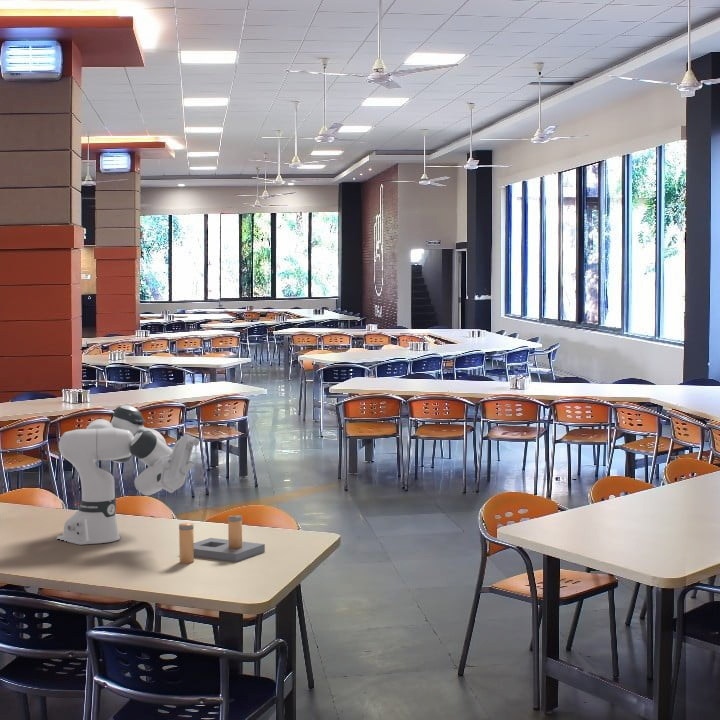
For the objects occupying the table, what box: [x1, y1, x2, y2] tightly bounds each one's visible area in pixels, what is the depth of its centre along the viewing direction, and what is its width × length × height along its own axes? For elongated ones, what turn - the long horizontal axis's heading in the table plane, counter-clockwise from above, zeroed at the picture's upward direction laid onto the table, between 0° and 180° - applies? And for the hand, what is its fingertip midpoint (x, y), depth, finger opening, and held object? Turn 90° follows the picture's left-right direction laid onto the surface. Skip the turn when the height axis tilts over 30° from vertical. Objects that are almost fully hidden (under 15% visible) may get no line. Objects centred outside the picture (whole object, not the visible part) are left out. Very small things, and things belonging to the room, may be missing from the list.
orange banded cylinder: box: [178, 522, 195, 565], centre depth 314 cm, size 4×4×12 cm
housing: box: [194, 514, 266, 563], centre depth 325 cm, size 22×16×12 cm
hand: (194, 452), depth 330 cm, fingers open, 8 cm apart
